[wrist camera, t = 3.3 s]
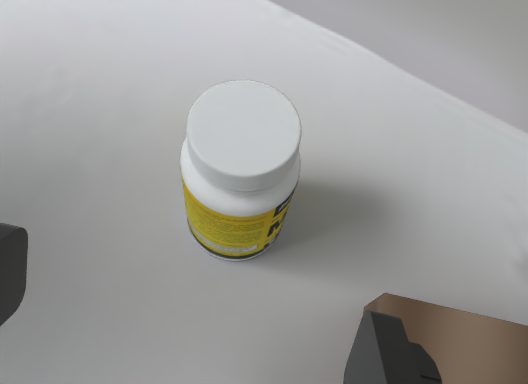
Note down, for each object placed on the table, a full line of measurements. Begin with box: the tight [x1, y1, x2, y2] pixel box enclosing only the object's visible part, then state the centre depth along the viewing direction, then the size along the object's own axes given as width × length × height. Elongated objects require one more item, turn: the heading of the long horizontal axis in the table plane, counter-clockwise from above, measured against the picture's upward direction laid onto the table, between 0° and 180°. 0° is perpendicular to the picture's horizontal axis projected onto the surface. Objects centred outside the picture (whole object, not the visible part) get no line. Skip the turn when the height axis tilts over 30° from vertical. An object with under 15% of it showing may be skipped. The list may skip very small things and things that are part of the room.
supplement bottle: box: [181, 80, 301, 261], centre depth 20 cm, size 5×5×8 cm
